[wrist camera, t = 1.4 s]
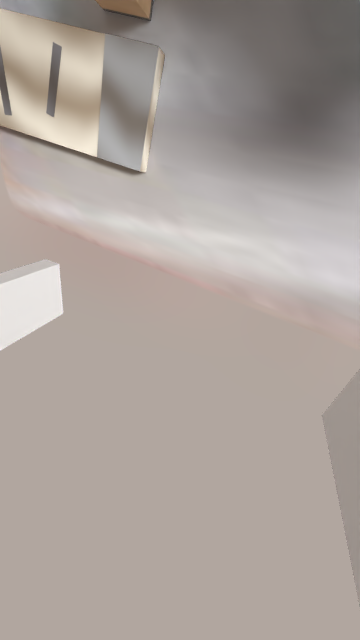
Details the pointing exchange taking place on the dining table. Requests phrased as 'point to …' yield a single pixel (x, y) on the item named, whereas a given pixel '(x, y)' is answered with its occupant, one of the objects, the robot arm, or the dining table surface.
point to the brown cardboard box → (129, 7)
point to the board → (79, 87)
